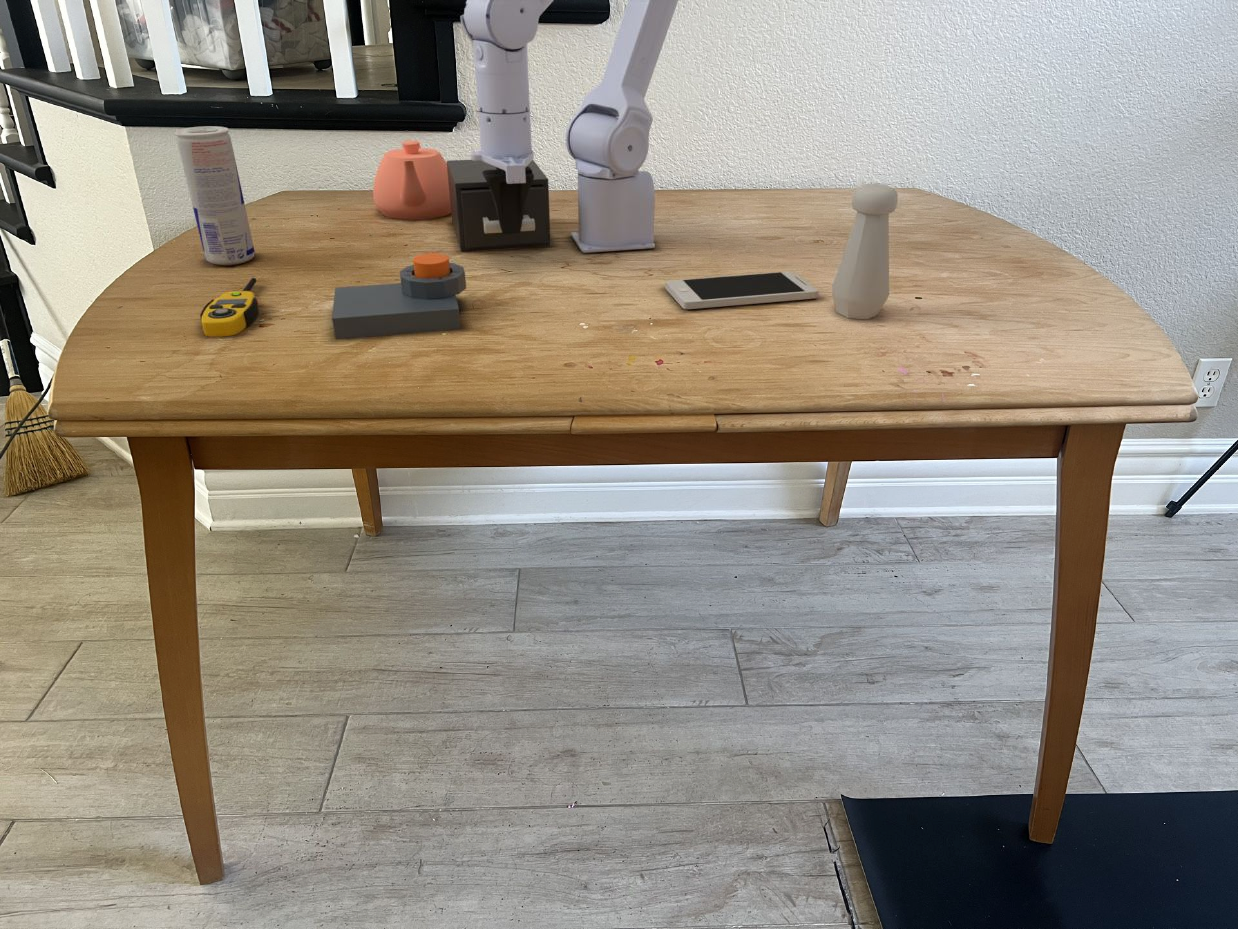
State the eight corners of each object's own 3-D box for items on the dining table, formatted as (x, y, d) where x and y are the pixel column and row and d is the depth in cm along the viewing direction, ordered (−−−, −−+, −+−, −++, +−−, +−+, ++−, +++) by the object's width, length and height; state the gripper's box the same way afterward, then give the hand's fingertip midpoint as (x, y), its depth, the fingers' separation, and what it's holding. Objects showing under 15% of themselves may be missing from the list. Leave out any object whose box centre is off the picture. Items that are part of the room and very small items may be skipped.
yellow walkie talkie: (188, 320, 82) (229, 269, 94) (193, 339, 83) (233, 286, 95) (241, 318, 82) (275, 268, 95) (246, 337, 83) (278, 285, 96)
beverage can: (266, 256, 105) (239, 127, 97) (230, 269, 100) (199, 135, 93) (232, 250, 107) (203, 123, 99) (195, 263, 102) (162, 130, 95)
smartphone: (664, 287, 96) (664, 279, 95) (791, 277, 99) (792, 269, 99) (684, 310, 90) (684, 301, 89) (818, 298, 93) (819, 290, 93)
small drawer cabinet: (550, 246, 110) (548, 178, 105) (460, 252, 107) (454, 183, 103) (533, 219, 121) (531, 156, 116) (452, 223, 118) (446, 160, 114)
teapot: (461, 195, 132) (455, 130, 127) (459, 227, 116) (452, 155, 112) (380, 197, 130) (372, 131, 125) (368, 230, 115) (357, 156, 110)
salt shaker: (886, 324, 87) (909, 195, 81) (829, 320, 88) (847, 191, 82) (882, 305, 92) (904, 181, 85) (828, 300, 93) (846, 178, 86)
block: (464, 295, 94) (461, 259, 91) (473, 328, 85) (470, 289, 83) (338, 305, 91) (332, 268, 89) (335, 340, 83) (328, 300, 81)
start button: (448, 268, 90) (447, 252, 89) (451, 279, 87) (450, 262, 86) (414, 270, 89) (412, 254, 88) (415, 281, 86) (413, 264, 86)
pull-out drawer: (553, 252, 104) (551, 196, 101) (469, 257, 102) (464, 201, 99) (531, 217, 118) (529, 167, 115) (457, 221, 116) (452, 170, 113)
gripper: (461, 101, 100) (471, 218, 107) (474, 122, 88) (484, 252, 95) (521, 100, 101) (527, 215, 108) (542, 120, 89) (547, 248, 96)
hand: (511, 232), depth 102 cm, fingers closed
